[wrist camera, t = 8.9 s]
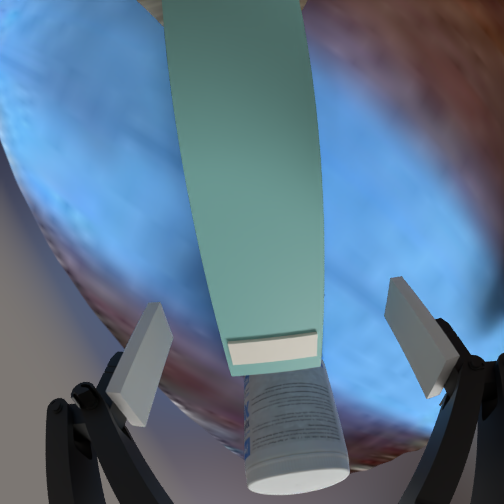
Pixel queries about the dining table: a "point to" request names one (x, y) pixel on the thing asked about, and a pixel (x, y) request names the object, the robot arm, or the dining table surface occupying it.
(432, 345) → the robot arm
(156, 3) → the tunnel
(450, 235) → the dining table surface
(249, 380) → the supplement tub
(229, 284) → the beige-capped teal block
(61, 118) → the dining table surface
